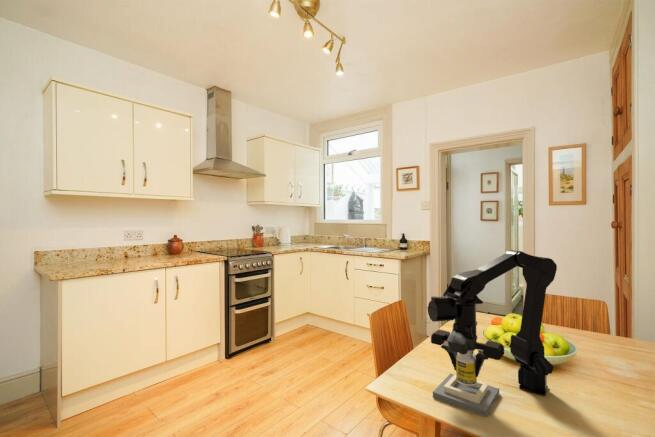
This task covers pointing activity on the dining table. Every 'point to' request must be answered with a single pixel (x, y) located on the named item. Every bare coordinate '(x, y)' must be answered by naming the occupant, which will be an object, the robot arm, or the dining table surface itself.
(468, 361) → the supplement bottle
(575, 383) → the dining table surface
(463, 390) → the plate
